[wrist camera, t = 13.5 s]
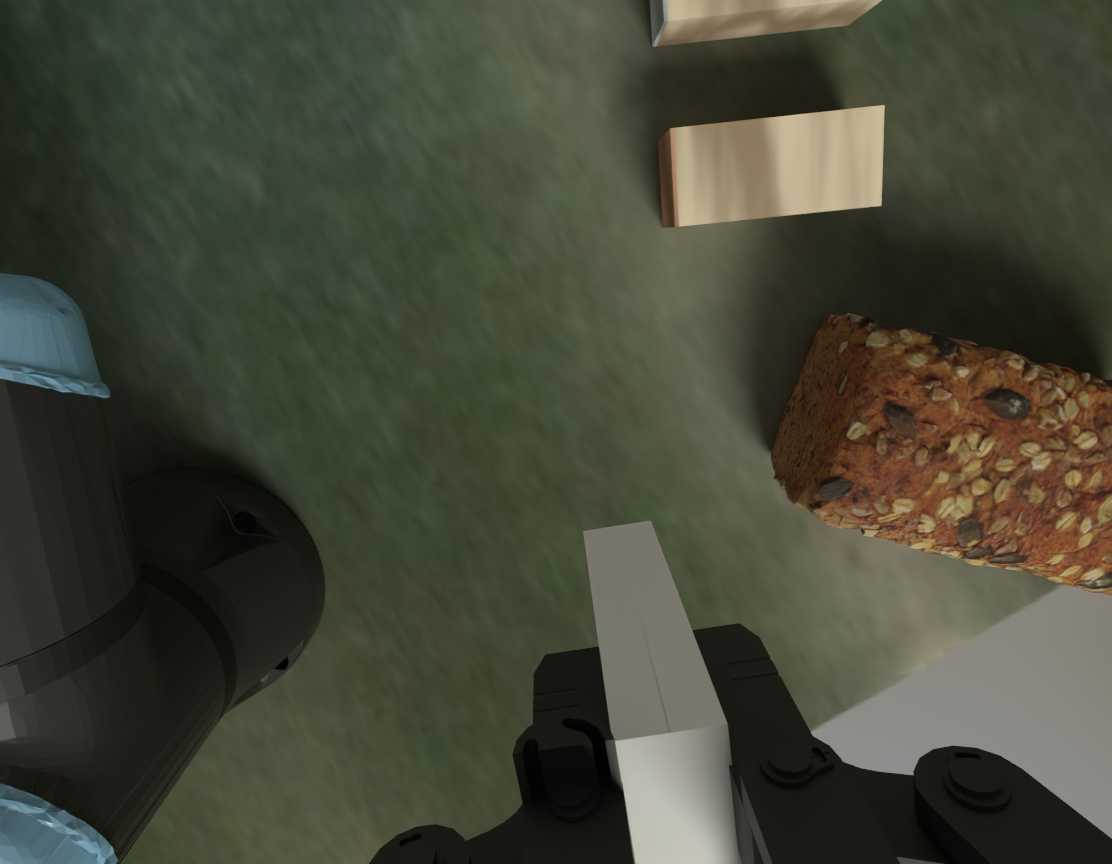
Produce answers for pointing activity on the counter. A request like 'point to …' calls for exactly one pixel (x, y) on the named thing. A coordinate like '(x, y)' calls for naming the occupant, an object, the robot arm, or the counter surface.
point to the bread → (952, 450)
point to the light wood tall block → (772, 166)
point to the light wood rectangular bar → (746, 18)
